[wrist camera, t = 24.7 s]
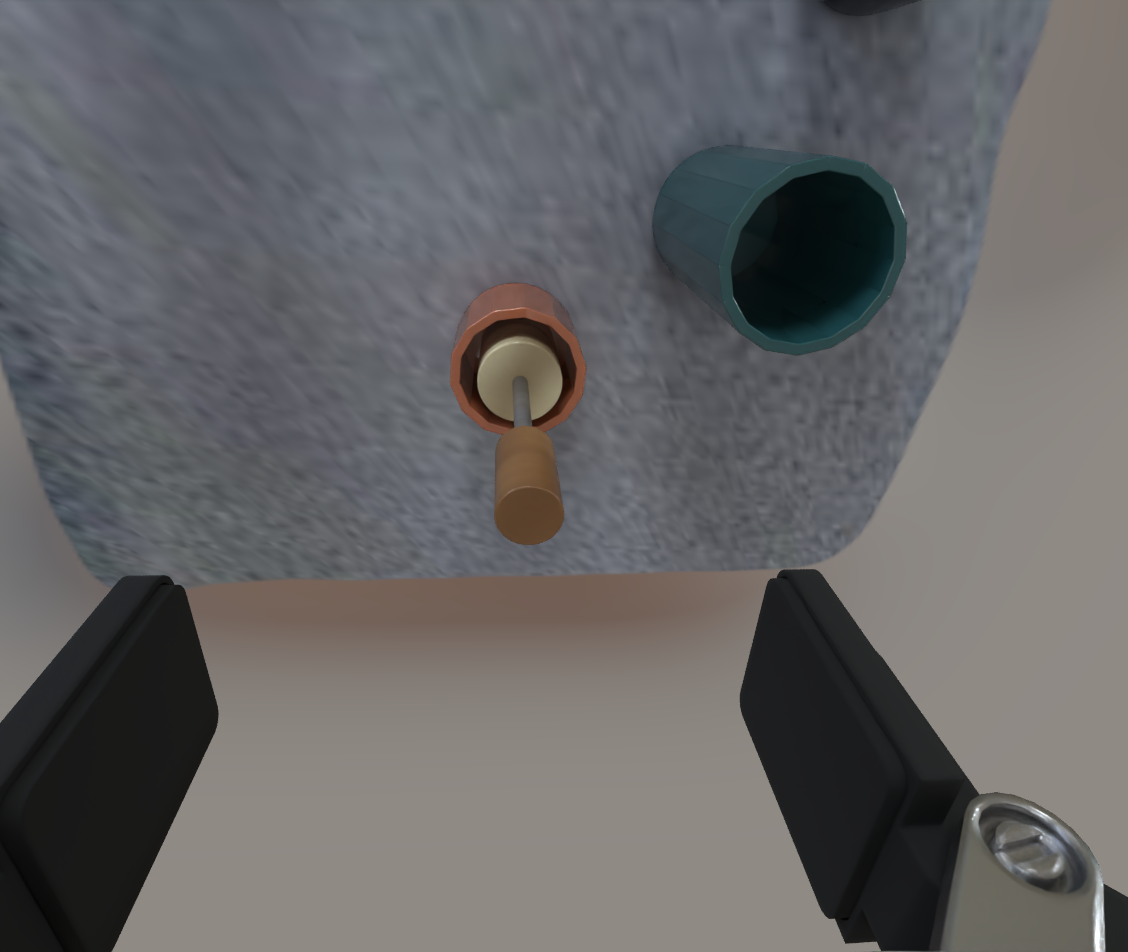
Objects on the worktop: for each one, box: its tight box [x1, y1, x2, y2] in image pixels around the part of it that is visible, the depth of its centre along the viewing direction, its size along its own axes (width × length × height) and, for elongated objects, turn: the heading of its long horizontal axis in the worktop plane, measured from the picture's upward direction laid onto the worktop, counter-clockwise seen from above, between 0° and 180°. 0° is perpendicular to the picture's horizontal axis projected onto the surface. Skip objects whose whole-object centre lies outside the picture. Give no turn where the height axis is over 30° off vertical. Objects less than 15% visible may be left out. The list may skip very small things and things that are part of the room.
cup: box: [653, 145, 907, 355], centre depth 31 cm, size 7×7×13 cm
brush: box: [477, 317, 564, 545], centre depth 31 cm, size 4×4×19 cm
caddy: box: [450, 283, 587, 435], centre depth 37 cm, size 7×7×6 cm
